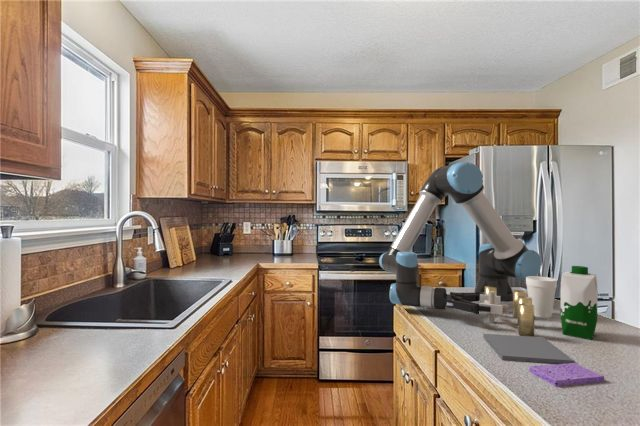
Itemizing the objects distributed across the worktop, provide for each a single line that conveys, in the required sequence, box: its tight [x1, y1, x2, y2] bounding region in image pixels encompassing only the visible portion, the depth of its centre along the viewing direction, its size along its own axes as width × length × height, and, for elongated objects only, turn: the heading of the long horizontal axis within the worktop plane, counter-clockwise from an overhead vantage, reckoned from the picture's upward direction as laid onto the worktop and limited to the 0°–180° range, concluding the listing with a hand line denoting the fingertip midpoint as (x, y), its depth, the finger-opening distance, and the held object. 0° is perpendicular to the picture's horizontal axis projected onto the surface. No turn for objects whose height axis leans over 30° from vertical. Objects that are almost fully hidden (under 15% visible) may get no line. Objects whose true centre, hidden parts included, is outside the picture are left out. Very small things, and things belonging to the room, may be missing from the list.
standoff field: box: [485, 286, 535, 337], centre depth 116 cm, size 12×30×9 cm, turn 170°
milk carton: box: [560, 265, 599, 341], centre depth 105 cm, size 9×9×20 cm
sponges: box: [529, 362, 605, 387], centre depth 77 cm, size 7×13×2 cm, turn 101°
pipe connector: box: [478, 291, 509, 324], centre depth 116 cm, size 10×10×10 cm
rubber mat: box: [482, 333, 575, 365], centre depth 93 cm, size 16×16×1 cm
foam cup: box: [525, 275, 558, 318], centre depth 125 cm, size 10×9×13 cm
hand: (501, 304), depth 115 cm, fingers open, 13 cm apart
